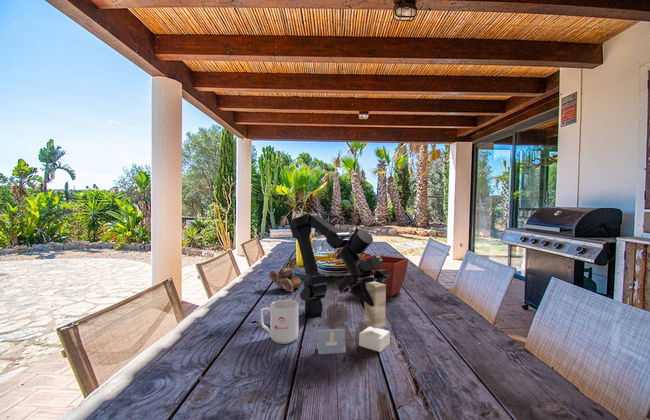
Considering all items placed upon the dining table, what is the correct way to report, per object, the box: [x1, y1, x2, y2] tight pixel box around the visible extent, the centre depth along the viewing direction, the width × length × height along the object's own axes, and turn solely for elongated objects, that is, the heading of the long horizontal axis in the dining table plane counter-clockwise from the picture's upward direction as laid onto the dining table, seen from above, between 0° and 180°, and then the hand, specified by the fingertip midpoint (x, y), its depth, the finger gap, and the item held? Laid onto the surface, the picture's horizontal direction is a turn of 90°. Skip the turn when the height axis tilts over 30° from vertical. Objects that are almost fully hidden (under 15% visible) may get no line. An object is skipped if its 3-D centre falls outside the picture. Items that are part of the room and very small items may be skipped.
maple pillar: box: [363, 282, 387, 329], centre depth 93 cm, size 4×4×12 cm
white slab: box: [358, 326, 391, 353], centre depth 93 cm, size 7×7×4 cm
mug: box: [260, 299, 300, 345], centre depth 96 cm, size 12×9×11 cm
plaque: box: [316, 328, 347, 355], centre depth 89 cm, size 8×4×6 cm, turn 99°
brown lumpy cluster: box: [268, 267, 303, 293], centre depth 153 cm, size 13×16×15 cm
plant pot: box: [361, 254, 409, 298], centre depth 148 cm, size 19×19×17 cm
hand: (378, 304), depth 92 cm, fingers closed on maple pillar, 4 cm apart
